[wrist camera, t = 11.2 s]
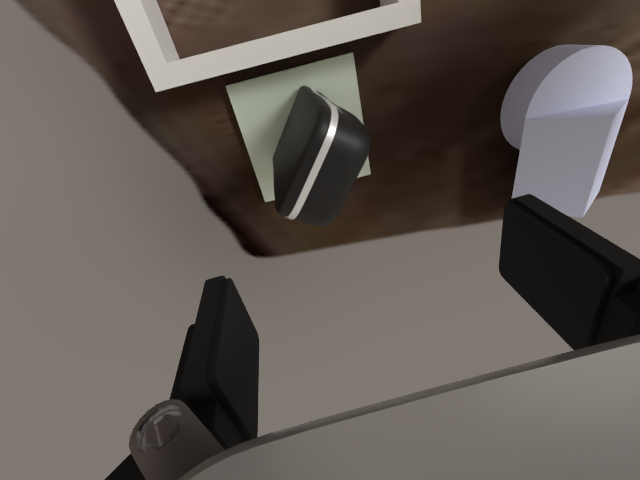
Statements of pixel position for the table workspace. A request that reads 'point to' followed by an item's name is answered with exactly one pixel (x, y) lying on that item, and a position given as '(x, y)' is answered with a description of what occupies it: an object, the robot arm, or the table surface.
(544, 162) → the wedge on round base
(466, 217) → the table surface
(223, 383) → the robot arm
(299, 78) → the pad
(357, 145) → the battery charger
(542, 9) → the table surface
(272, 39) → the white bent frame
